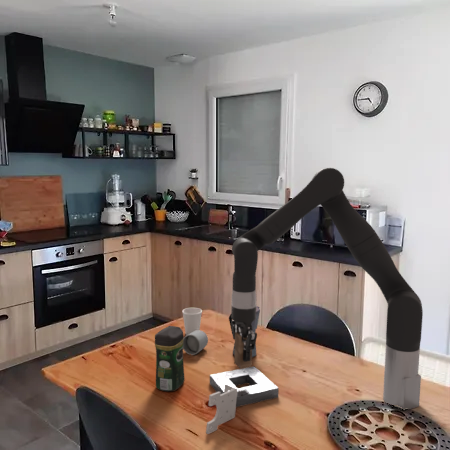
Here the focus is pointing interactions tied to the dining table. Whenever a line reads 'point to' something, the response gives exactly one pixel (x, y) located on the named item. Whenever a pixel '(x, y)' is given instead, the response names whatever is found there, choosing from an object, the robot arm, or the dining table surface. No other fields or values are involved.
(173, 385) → the coffee jar
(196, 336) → the ceramic mug
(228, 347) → the dining table surface
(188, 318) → the dixie cup
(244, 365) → the tan square peg
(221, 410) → the bracket
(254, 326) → the moka pot
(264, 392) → the square hole plate
